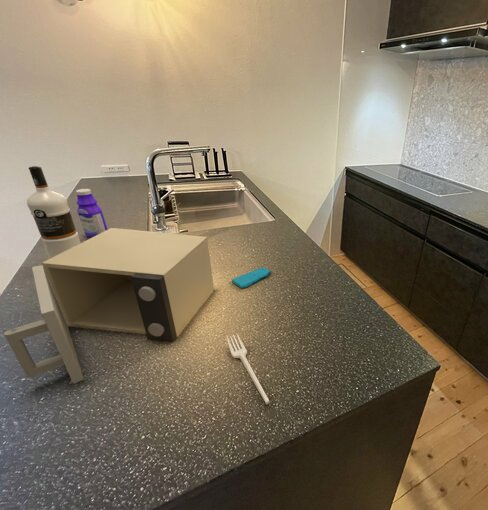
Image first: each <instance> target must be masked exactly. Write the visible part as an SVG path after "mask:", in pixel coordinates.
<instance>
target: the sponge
mask: <svg viewBox="0 0 488 510" xmlns="http://www.w3.org/2000/svg"><path fill="white" fill-rule="evenodd" d="M271 273H272V271H271V270H270V269H267V268H265V267H263V266H262V267H260V268H258V269H254V270H252V271H249V272H247V273H244V274H241V275H238V276H236V277H234V278H232V279H231V282H232V283H233V284H234V285H236V286H237V287H239V288H240V289H247V288H249V287H251V286H252V285H253V284H256V283H257V282H259V281H261V280H263V279H265V278H267V277H268V276H270V275H271Z"/></svg>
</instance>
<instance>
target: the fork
mask: <svg viewBox="0 0 488 510" xmlns="http://www.w3.org/2000/svg"><path fill="white" fill-rule="evenodd" d="M236 337H237V339H236ZM226 340H227V344H228V348H229V352H230V355H231V357H232V358H233V359H240V361H241V363H242V364H243V366H244V368H245V369H246V371H247V373H248V375H249V377H250V378H251V380H252V382H253V384H254V385H255V387H256V390H257V391H258V392H259V394H260V396H261V398H262V400H263V402H264V403H265V405H269V404H270V403H271V402H270V400H269V397H268V395H267V394H266V392H265V391H264V389H263V387H262V385H261V383H260V381H259V379H258V377H257V375H256V374H255V372H254V370H253V368H252V366H251V364H250V362H249V360H248V358H247V354H248V350H247V348H246V347H245V345H244V343H243V341H242V339H241V338H240V336H239V334H238V333H237V332H236V334H232V335H229V336H226Z"/></svg>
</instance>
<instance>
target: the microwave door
mask: <svg viewBox="0 0 488 510" xmlns="http://www.w3.org/2000/svg"><path fill="white" fill-rule="evenodd" d="M31 270H32V275H33V280H34V285H35V289H36V295H37V299H38V304H39V309H40V313H41V316H42V319H41V320H36V321H33V322H30V323H27V324H24V325H23V324H22V325H20V326H16V327H14V328H10V329H8V330H6V331H4V332H3V336H4V338H5V339H6V341H7V343H8V345H9V346H10V349H11V351H12V352H13V354H14V355H15V358H16V360H17V361H18V363H19V365H20V367H21V368H22V371H23V372H24V374H25V376H26V378H28V379H32V378H35V377H37V376H39V375H42V374H46V373H48V372H51V371H53V370H55V369H58V368H61V367H63V366H64V367H65V369H66V371H67V373H68V375H69V377H70V380H71V382H72V384H73V385H74V384H77V383H79V382H82V381H84V380H85V378H84V375H83V372H82V368H81V365H80V361H79V358H78V355H77V352H76V348H75V344H74V341H73V338H72V334H71V332H70V328H69V326H68V325H67V322H66V320H65V317H64V315H63V313H62V310H61V308H60V305H59V303H58V301H57V298H56V296H55V293H54V291H53V289H52V286H51V284H50V281H49V279H48V277H47V274H46V272H45V269H44V267H43V265H42V264H39V265H36V266H32V267H31ZM48 331H49V333H50V336H51V338H52V340H53V342H54V345H55V347H56V349H57V351H58V353H59V354H57V355H55V356H52V357H49V358H46V359H43V360H41V361H39V362H36V363H35V361H34V359H33V358H32V355H31V353H30V351H29V350H28V348H27V346H26V344H25V342H24V340H23V339H26V338H29V337H32V336H37V335H39V334H42V333H46V332H48Z"/></svg>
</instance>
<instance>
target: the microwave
mask: <svg viewBox="0 0 488 510" xmlns="http://www.w3.org/2000/svg"><path fill="white" fill-rule="evenodd" d="M208 241H209V240H208V237H207V236H203V235H202V236H199V235H191V234H181V233H169V232H161V231H160V232H157V231H150V230H149V231H147V230H137V229H129V228H128V229H127V228H117V227H110V228H107V230H106V231H104V232H102V233H100V234H98V235H96V236H94V237H92V238H90V237H89V239H87V240H84V241H82V242H81V243H80V244H78V245H76V246H74V247H72V248H70V249H68V250H66V251H64V252H62V253H60V254H58V255H56V256H55V257H53V258H51V259H49V260H48V259H46V260H44V261H43V262H41V265H43V268H44V270H45V273H46V275H47V277H48V280H49V282H50V285H51V287H52V289H53V292H54V294H55V297H56V299H57V301H58V304H59V306H60V308H61V311H62V313H63V316H64V318H65V320H66V323H67V325H68V327H73V328H83V329H92V330H100V331H111V332H121V333H131V334H142V335H146V338H147V340H153V341H162V342H172V343H173V342H175V340H176V339H178V337H179V336H180V334H181V333H182V332H183V331H184V329H185V328H186V327H187V326H188V324H189V323H190V322H191V320H192V319H193V318H194V316H196V314H197V313H198V312H199V310H200V309H201V308H202V306H203V305H204V304H205V303H206V301H207V300H208V299H209V297H210V296H211V295H212V293H213V292H214V291H215V287H214V279H213V272H212V271H213V270H212V265H211V264H212V263H211V258H210V257H211V256H210V249H209V242H208Z"/></svg>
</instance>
